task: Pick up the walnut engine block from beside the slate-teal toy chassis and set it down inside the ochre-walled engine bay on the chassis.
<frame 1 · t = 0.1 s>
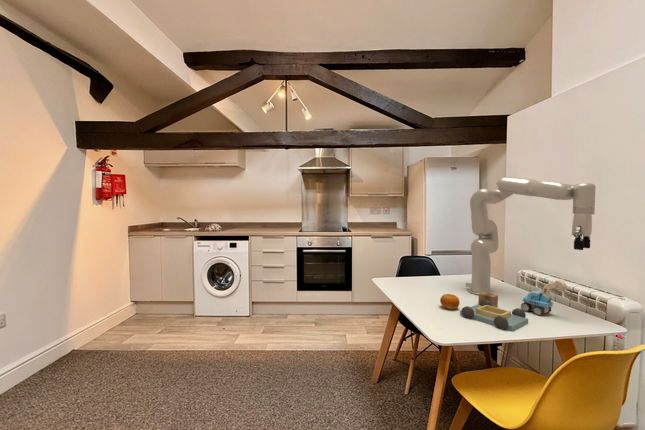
hand: (581, 248, 136), 31 cm above the table, tool pointing down, fingers open, 9 cm apart
engine block: (487, 306, 151), on the table
chassis: (492, 318, 134), on the table
toy excavator: (542, 314, 141), on the table
fruit: (449, 308, 148), on the table
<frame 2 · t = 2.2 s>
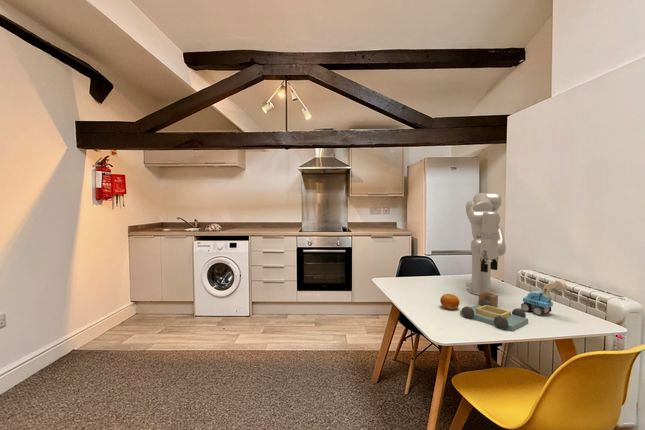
hand: (489, 270, 151), 18 cm above the table, tool pointing down, fingers open, 9 cm apart
nothing on the table moved.
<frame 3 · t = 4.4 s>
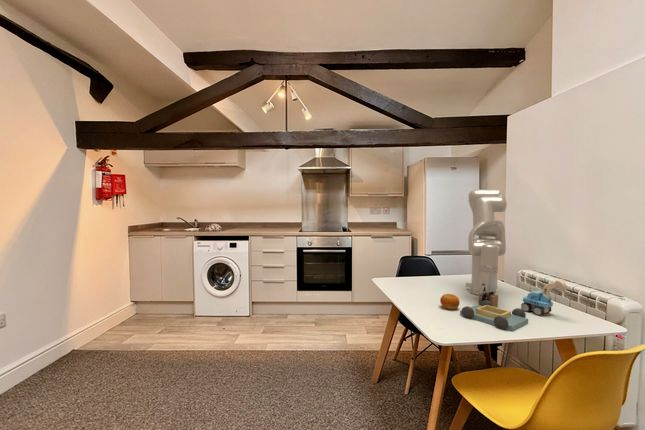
hand: (488, 304, 151), 1 cm above the table, tool pointing down, fingers closed on engine block, 5 cm apart
engine block: (487, 306, 151), on the table, touching gripper
everything else where it was.
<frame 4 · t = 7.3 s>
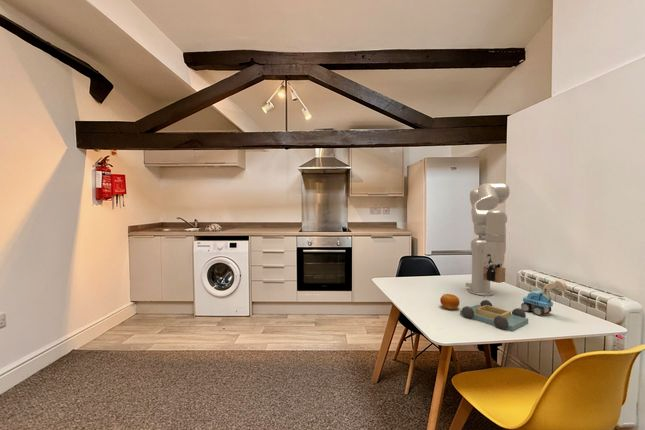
hand: (493, 279, 134), 18 cm above the table, tool pointing down, fingers closed on engine block, 5 cm apart
engine block: (493, 280, 134), point 17 cm above the table, touching gripper
everything else where it was.
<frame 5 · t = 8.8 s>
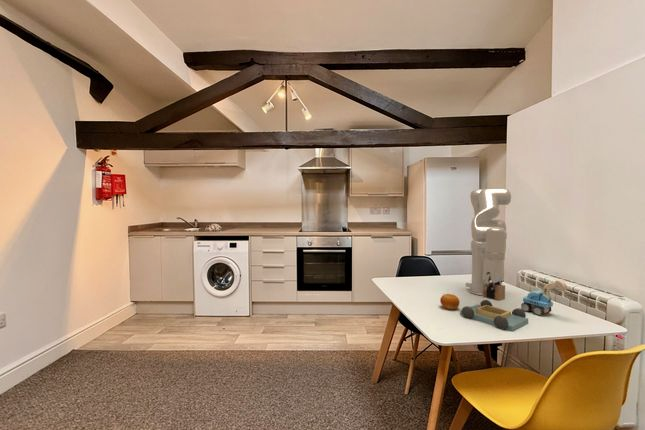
hand: (493, 296, 133), 10 cm above the table, tool pointing down, fingers closed on engine block, 5 cm apart
engine block: (493, 298, 133), point 9 cm above the table, touching gripper
everything else where it was.
when the fingers open (5 cm above the table, at t = 10.2 s): engine block drops 2 cm, resting on chassis.
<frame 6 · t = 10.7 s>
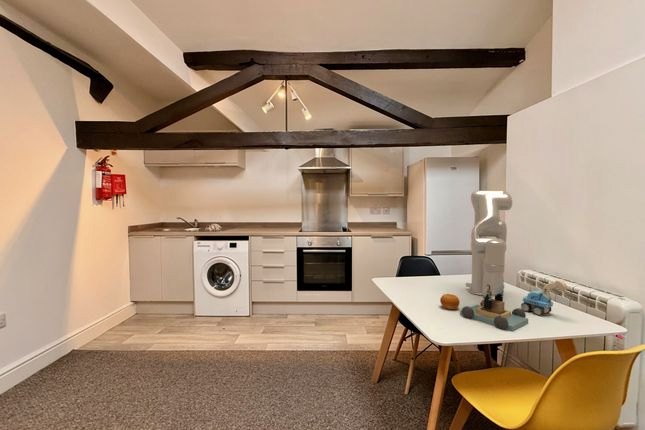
hand: (493, 306, 134), 5 cm above the table, tool pointing down, fingers open, 9 cm apart
engine block: (493, 314, 134), point 2 cm above the table, touching chassis
everything else where it was.
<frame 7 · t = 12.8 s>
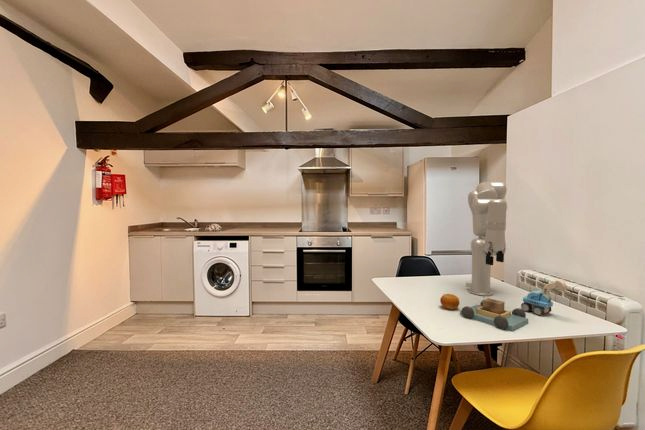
hand: (494, 263, 140), 24 cm above the table, tool pointing down, fingers open, 9 cm apart
nothing on the table moved.
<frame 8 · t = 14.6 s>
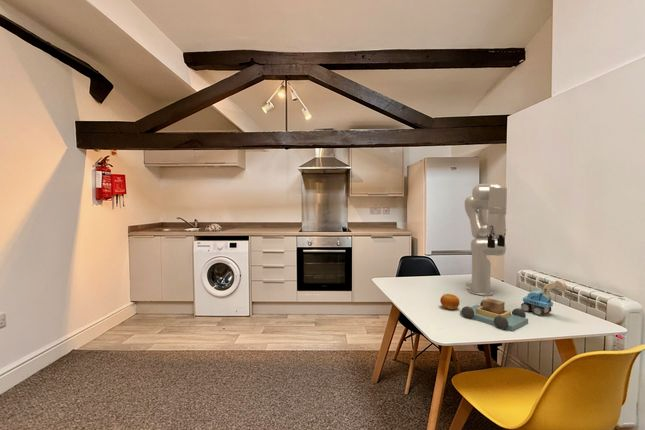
hand: (496, 247, 146), 30 cm above the table, tool pointing down, fingers open, 9 cm apart
nothing on the table moved.
at the end: engine block 0.1 cm off-centre on the chassis, point 2.0 cm above the chassis's base; engine block tilted 0°; the gripper is holding nothing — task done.
